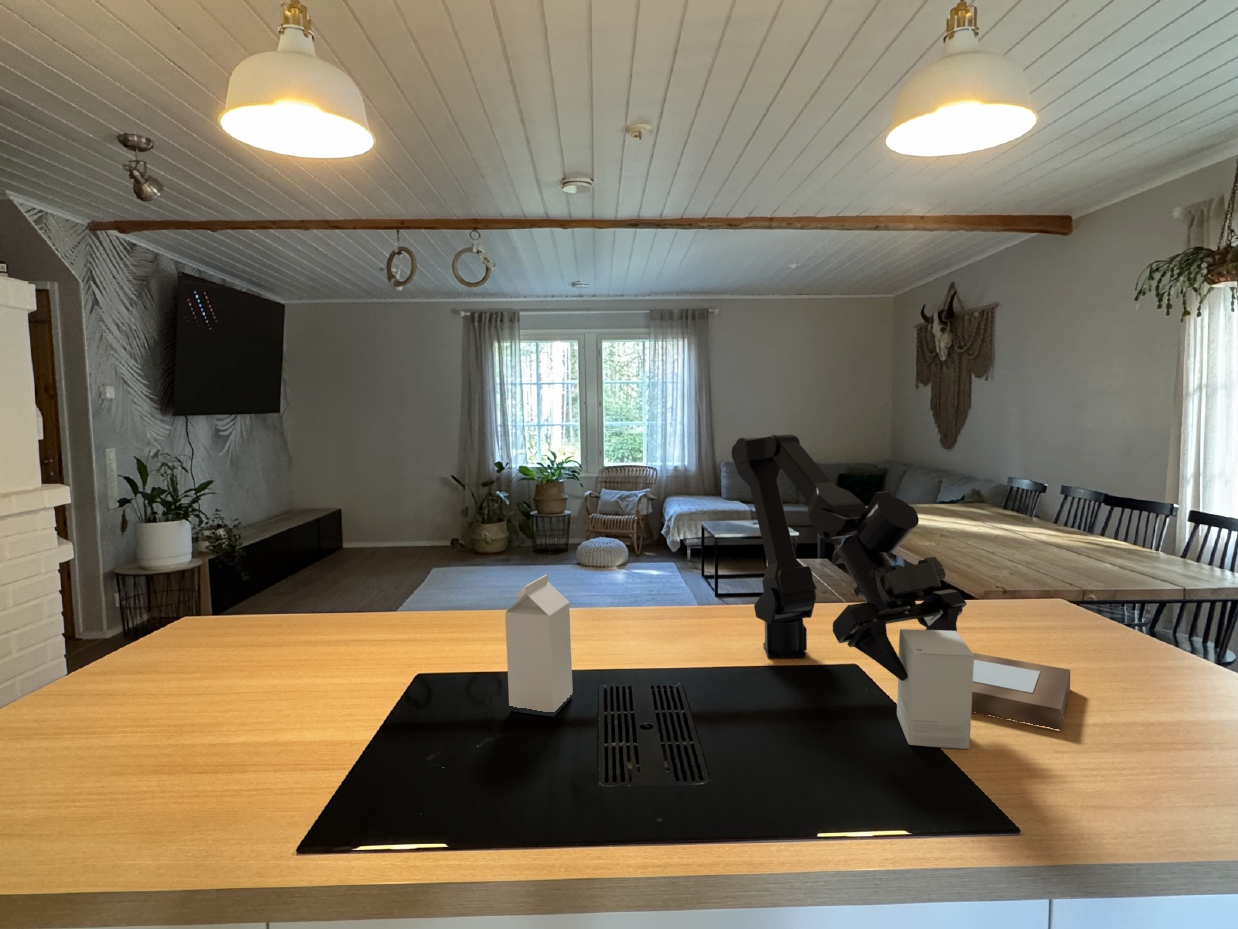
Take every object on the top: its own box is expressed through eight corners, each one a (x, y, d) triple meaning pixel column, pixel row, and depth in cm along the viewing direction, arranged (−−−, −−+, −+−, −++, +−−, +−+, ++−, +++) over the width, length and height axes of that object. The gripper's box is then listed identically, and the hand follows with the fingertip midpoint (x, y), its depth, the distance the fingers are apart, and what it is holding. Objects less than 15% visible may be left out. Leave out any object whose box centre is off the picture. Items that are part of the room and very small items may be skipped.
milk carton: (573, 698, 102) (568, 575, 100) (553, 719, 95) (548, 587, 94) (531, 693, 104) (525, 573, 103) (509, 713, 97) (503, 585, 96)
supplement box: (971, 750, 83) (976, 655, 81) (907, 746, 84) (910, 652, 82) (954, 718, 90) (958, 629, 88) (895, 714, 91) (898, 627, 89)
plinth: (927, 702, 96) (927, 681, 96) (951, 667, 109) (952, 648, 109) (1060, 732, 87) (1060, 708, 86) (1070, 689, 99) (1070, 668, 99)
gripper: (844, 544, 87) (909, 654, 77) (955, 532, 93) (1027, 632, 84) (808, 591, 95) (863, 696, 85) (912, 576, 101) (974, 672, 91)
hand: (934, 673), depth 86 cm, fingers open, 9 cm apart
